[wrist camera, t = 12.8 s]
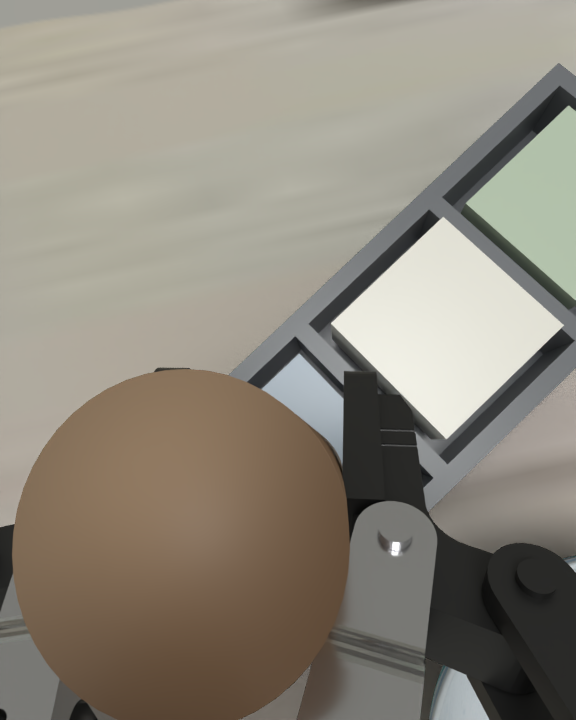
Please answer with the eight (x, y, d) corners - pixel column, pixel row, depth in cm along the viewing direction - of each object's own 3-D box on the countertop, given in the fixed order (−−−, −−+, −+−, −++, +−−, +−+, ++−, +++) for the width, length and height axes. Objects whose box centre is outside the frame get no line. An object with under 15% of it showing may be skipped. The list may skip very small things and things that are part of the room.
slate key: (205, 460, 25) (184, 462, 21) (304, 365, 25) (299, 353, 22) (299, 567, 24) (292, 588, 20) (403, 467, 24) (413, 471, 20)
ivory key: (332, 339, 25) (330, 323, 22) (429, 247, 25) (443, 216, 22) (431, 439, 24) (446, 439, 20) (531, 341, 24) (563, 325, 21)
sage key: (449, 233, 27) (465, 203, 23) (539, 148, 27) (568, 105, 24) (547, 322, 26) (579, 303, 22) (640, 232, 26) (686, 199, 22)
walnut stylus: (213, 477, 17) (-52, 528, 6) (291, 402, 18) (191, 303, 6) (287, 561, 17) (158, 817, 5) (368, 482, 17) (425, 551, 5)
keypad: (177, 450, 28) (146, 452, 23) (524, 121, 28) (558, 62, 24) (308, 601, 26) (302, 634, 21) (674, 245, 27) (741, 206, 22)
